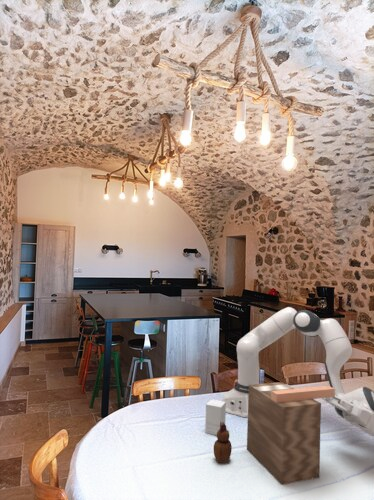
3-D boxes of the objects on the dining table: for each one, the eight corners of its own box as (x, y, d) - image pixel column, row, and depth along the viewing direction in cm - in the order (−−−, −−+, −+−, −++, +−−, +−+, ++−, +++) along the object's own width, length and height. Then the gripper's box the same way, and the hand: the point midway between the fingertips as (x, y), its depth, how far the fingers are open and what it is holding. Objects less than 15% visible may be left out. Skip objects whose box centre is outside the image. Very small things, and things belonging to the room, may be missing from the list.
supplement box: (225, 430, 160) (226, 401, 160) (220, 436, 153) (221, 407, 153) (210, 426, 163) (211, 398, 163) (204, 432, 156) (205, 403, 157)
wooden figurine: (218, 466, 130) (220, 424, 131) (210, 458, 135) (212, 418, 136) (233, 462, 133) (235, 421, 134) (225, 454, 138) (226, 415, 139)
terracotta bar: (327, 393, 137) (328, 385, 138) (334, 396, 134) (334, 388, 134) (271, 399, 129) (271, 390, 129) (276, 402, 126) (276, 394, 126)
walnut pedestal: (280, 444, 148) (281, 381, 149) (319, 477, 125) (321, 402, 127) (246, 449, 143) (248, 384, 144) (281, 484, 120) (283, 406, 122)
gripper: (338, 395, 150) (316, 381, 146) (379, 415, 131) (354, 399, 127) (332, 409, 149) (309, 394, 145) (372, 431, 129) (347, 415, 126)
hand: (330, 397), depth 136 cm, fingers open, 8 cm apart
